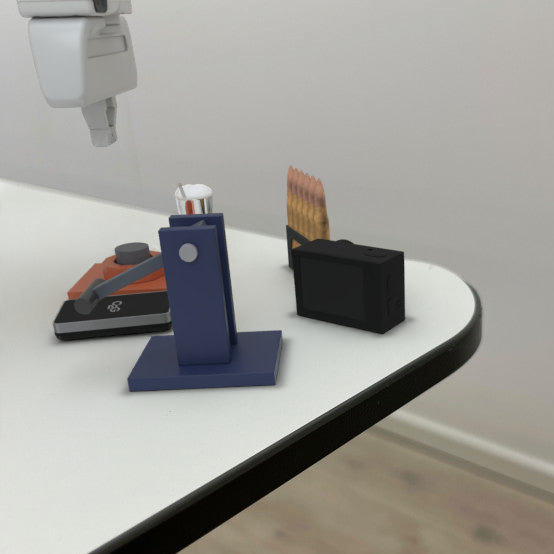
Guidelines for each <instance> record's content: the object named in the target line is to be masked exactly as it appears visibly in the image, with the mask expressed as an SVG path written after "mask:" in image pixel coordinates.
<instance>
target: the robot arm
mask: <svg viewBox="0 0 554 554" xmlns="http://www.w3.org/2000/svg"><path fill="white" fill-rule="evenodd" d="M16 5H17V9H18V13H19V14H20V16H21V17H22V18H24V19H29V20H28V24H27V34H28V41H29V46H30V50H31V55H32V60H33V64H34V67H35V73H36V76H37V80H38V84H39V88H40V91H41V93H42V95H43V96H42V97H44V100H45V102H46V103H47V104H48V106H49V107H50V108H53V109H73V108H80V110H81V115H82V116H83V118H84V121H85V123H86V125H87V127H88V130H89V134H90V140H91V145H92V146H94V147H95V148H107V147H109V146H111V145H112V144H115V143H116V142H117V141H118V134H117V126H116V123H117V113H118V104H117V96H119V95H121V94H124V93H126V92H129V91H131V90H135V89H136V88H137V86H138V70H137V63H136V58H135V52H134V45H133V41H132V35H131V32H130V27H129V23H128V21H127V19H126V17H125V16H123V15H131V14H133V8H132V7H133V6H132V0H16Z"/></svg>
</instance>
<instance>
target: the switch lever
mask: <svg viewBox="0 0 554 554" xmlns="http://www.w3.org/2000/svg"><path fill="white" fill-rule="evenodd" d="M192 226H207V224H206V223H205V221H204V220H201V221H199V222H197V223H195V224H193V225H192ZM161 268H163V261H162V254H161V253H159V254H157V255H155V256H153V257H151V258H149V259H147V260H145V261H143V262H141V263H139V264H137V265H136V266H134V267H132V268H130V269H128V270H126V271H124V272H122V273H120V274H118V275H116V276H114V277H112V278H110V279H108V280H107V281H105V280H104V279H101V278H98V279H95V280H94V281H93V282H92V283H91V284H90V285H89V286H88V287H87V289H86V290H85V291H84V292H83V293H82V294H81V295H80V296H79V297H78V298H77V300H76V301H75V303H74V307H75V309H76V311H77V312H78V313H80V314H88V313H90V312H91V311H92V310H93V308H94V307H95V306H96V305H97V303H98V302H99V301H100V300H101V299H102V298H104V297H106V296H108V295H110V294H112V293H114V292H116V291H118V290H120V289H122V288H124V287H126V286H128V285H129V284H131V283H133V282H135V281H137V280H139V279H141V278H143V277H145V276H147V275H149V274H151V273H153V272H155V271H157V270H159V269H161Z"/></svg>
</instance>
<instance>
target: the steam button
mask: <svg viewBox="0 0 554 554" xmlns="http://www.w3.org/2000/svg"><path fill="white" fill-rule="evenodd" d="M149 250H150V245H149V244H148V243H147V242H142V241H141V242H136V241H135V242H128V243H127V242H126V243H122V244H120V245H117V246H116V247H114V255H116V261H117V264H120V265H134V264H139V263H141V262H143V261H145V260H147V259H149V258H151V257H150V251H149Z"/></svg>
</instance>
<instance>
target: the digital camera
mask: <svg viewBox="0 0 554 554" xmlns="http://www.w3.org/2000/svg"><path fill="white" fill-rule="evenodd" d="M292 261H293V270H292V272H293V282H294V283H293V284H294V294H295V295H294V296H295V307H296V315H298V316H302V317H306V318H311V319H315V320H319V321H324V322H329V323H333V324H338V325H343V326H346V327H347V326H348V327H351V328H356V329H360V330H363V331H369V332H373V333H378V334H383V335H384V334H385V333H386V332H388V331H389V330H391V329H393V328H394V327H396V326H397V325H399V324H400V323H402V322H403V321H405V320H406V284H405V283H406V279H405V277H406V274H405V273H406V271H405V268H406V267H405V252H404V251H403V250H398V249H397V250H395V249H390V248H383V247H377V246H370V245H363V244H358V243H354V242H352V241H351V240H349V239H346V238H345V239H343V238H342V239H341V238H340V239H336V240H331V239H330V240H325V239H315V240H313V241H310V242H308V243H306V244H303V245H301V246H298V247H296V248H293V249H292Z"/></svg>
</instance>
